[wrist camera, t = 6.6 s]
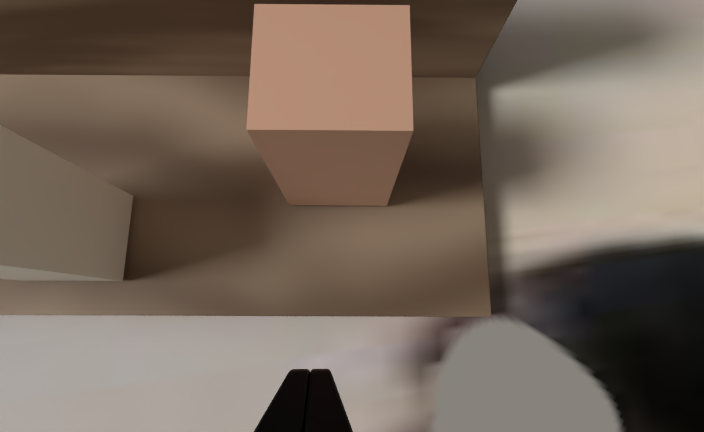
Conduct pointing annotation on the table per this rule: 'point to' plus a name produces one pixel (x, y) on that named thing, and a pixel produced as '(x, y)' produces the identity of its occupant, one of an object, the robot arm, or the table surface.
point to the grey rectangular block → (58, 217)
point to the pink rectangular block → (331, 99)
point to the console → (245, 164)
